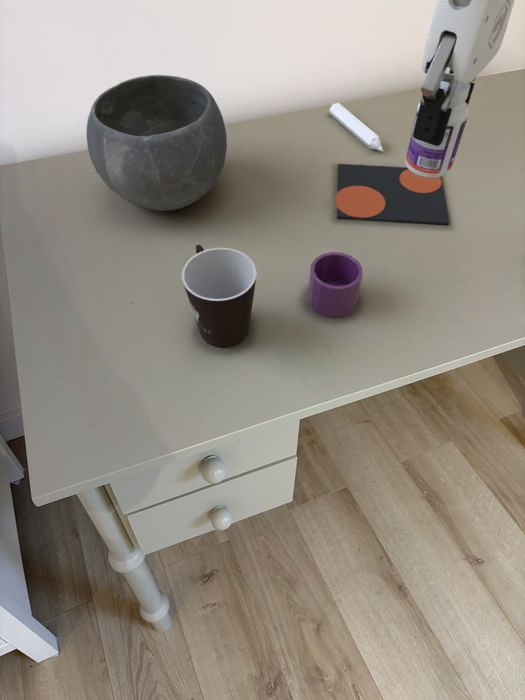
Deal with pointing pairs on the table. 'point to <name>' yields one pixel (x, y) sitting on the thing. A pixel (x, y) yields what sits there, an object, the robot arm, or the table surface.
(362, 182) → the placemat
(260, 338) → the table surface
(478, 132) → the table surface
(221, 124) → the bowl
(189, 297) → the coffee mug
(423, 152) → the pill bottle
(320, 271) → the cup
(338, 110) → the white pencil
